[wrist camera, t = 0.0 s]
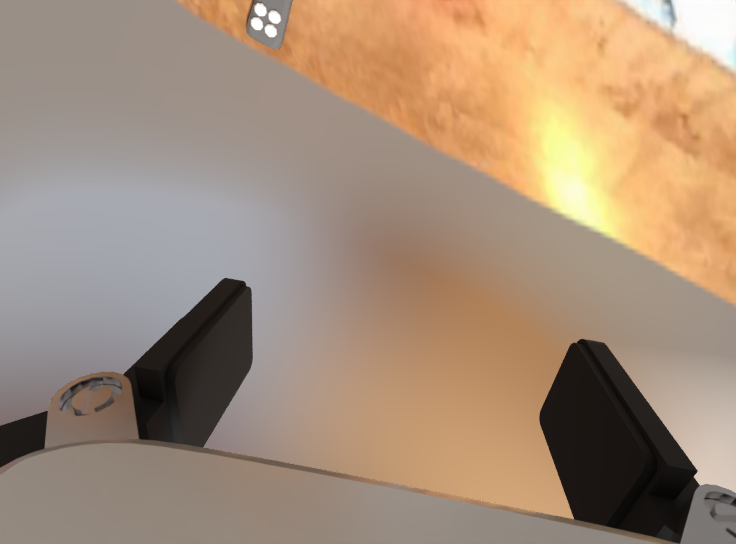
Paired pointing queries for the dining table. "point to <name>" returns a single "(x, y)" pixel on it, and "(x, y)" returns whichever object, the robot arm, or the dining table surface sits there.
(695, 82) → the dining table surface
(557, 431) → the robot arm
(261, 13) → the key chain
